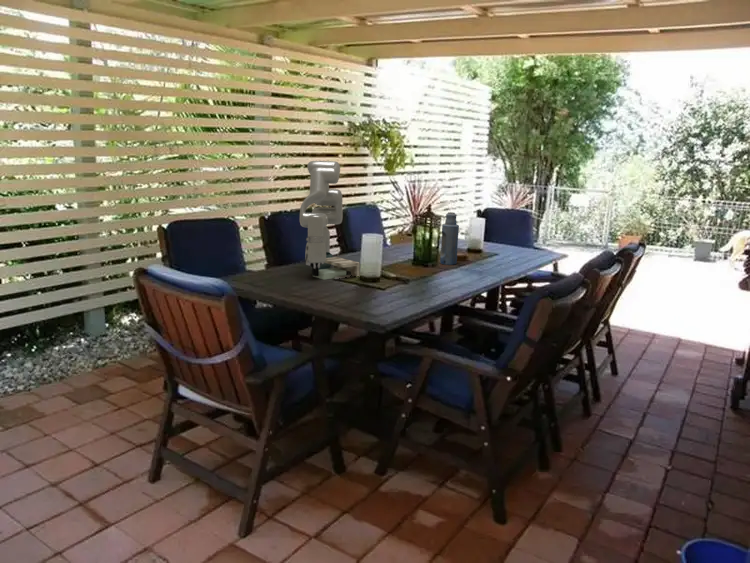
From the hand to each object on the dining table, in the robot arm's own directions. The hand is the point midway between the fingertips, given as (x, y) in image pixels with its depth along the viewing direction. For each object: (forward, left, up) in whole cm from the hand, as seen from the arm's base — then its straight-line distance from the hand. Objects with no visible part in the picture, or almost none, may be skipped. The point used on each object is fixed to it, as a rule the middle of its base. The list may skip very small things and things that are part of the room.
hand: (315, 275), depth 297 cm
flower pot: (-16, +16, -2) cm, 23 cm away
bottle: (+10, +88, -2) cm, 89 cm away
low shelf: (0, +14, -1) cm, 14 cm away
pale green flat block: (0, +9, -1) cm, 9 cm away
